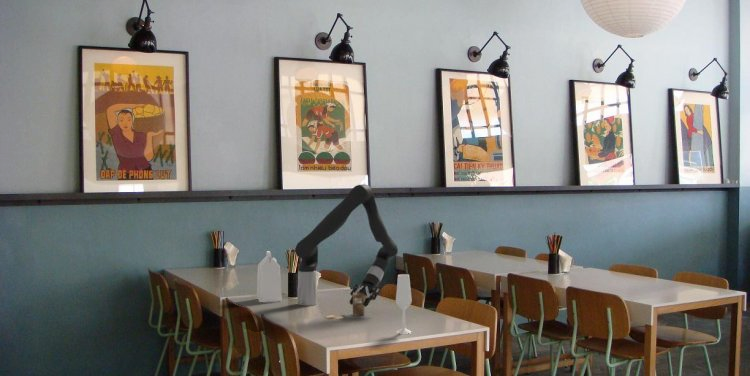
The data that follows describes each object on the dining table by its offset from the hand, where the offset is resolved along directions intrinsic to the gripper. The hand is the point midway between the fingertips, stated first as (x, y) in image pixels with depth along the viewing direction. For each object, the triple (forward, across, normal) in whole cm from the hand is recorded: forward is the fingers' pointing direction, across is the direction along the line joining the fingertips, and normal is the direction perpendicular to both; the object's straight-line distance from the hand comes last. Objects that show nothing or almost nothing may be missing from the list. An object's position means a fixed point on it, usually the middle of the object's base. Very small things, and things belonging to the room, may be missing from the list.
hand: (357, 304), depth 341 cm
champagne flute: (+14, +39, -6) cm, 42 cm away
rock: (-19, -27, +27) cm, 43 cm away
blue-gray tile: (+3, 0, +4) cm, 6 cm away
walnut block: (+3, 0, +4) cm, 5 cm away
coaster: (+11, -6, -4) cm, 13 cm away
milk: (0, -68, +7) cm, 68 cm away
